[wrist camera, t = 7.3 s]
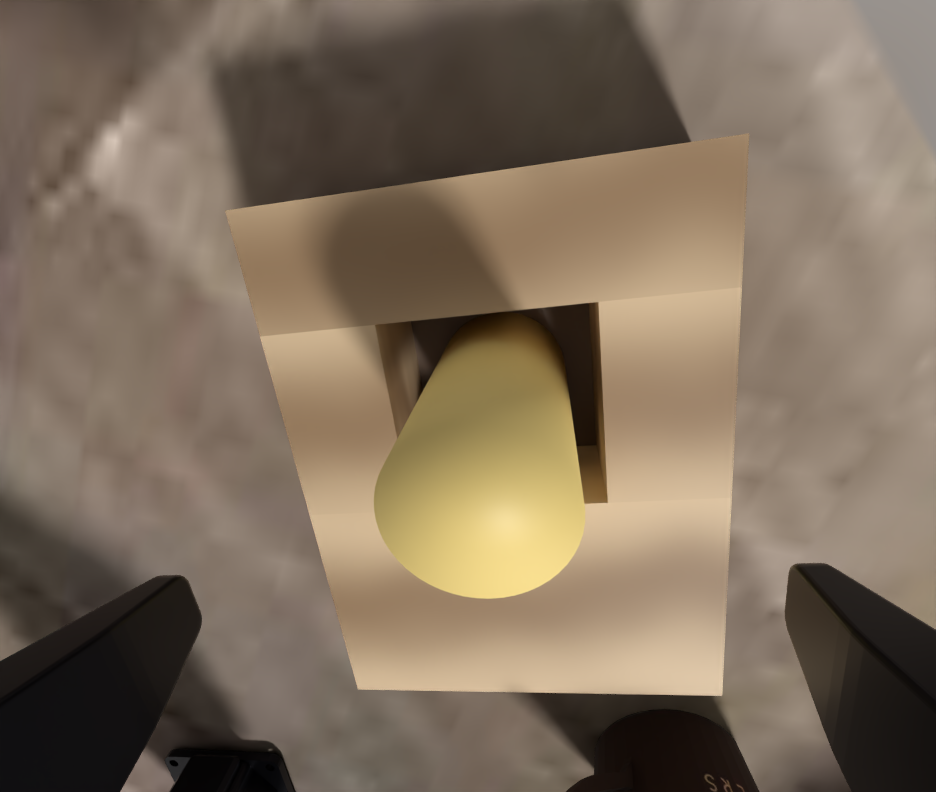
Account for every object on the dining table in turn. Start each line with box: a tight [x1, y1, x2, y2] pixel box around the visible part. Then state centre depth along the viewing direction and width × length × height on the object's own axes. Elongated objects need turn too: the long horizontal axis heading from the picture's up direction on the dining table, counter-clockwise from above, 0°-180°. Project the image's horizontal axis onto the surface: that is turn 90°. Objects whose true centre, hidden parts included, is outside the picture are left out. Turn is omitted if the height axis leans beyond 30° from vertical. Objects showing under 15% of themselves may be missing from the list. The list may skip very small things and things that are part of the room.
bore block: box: [225, 134, 749, 696], centre depth 17 cm, size 16×12×4 cm
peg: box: [374, 312, 585, 599], centre depth 14 cm, size 4×4×8 cm
